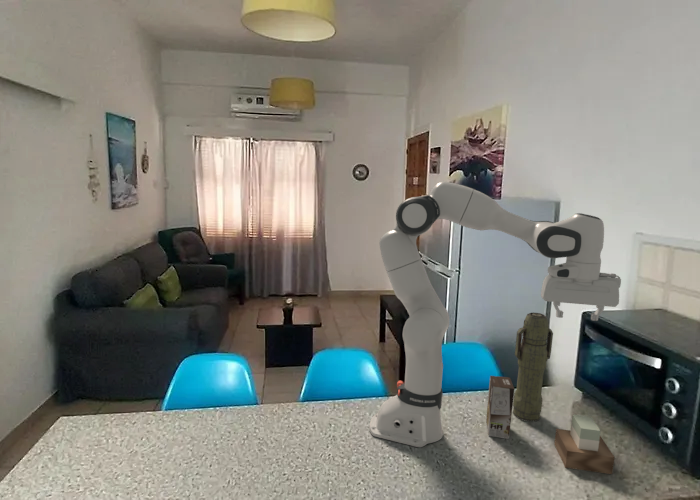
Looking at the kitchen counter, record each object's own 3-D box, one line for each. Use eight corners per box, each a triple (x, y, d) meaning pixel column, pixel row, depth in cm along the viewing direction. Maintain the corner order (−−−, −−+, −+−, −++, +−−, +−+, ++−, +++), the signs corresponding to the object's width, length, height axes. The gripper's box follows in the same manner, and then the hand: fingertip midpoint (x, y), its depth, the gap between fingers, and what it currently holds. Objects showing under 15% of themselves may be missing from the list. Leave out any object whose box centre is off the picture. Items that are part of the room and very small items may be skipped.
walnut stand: (565, 467, 128) (567, 450, 128) (554, 444, 140) (556, 428, 139) (612, 474, 126) (614, 457, 126) (597, 449, 138) (599, 434, 137)
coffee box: (509, 439, 142) (515, 389, 139) (487, 436, 143) (492, 386, 141) (506, 424, 151) (510, 377, 148) (485, 421, 152) (489, 374, 150)
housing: (570, 433, 137) (572, 414, 136) (588, 436, 136) (590, 416, 135) (578, 448, 129) (581, 428, 128) (597, 451, 128) (600, 430, 127)
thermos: (503, 410, 160) (512, 311, 155) (533, 407, 163) (543, 310, 158) (518, 423, 152) (529, 318, 147) (549, 420, 155) (561, 317, 150)
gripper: (617, 272, 134) (611, 319, 136) (542, 266, 137) (537, 312, 139) (626, 276, 128) (619, 325, 129) (547, 270, 131) (542, 318, 133)
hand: (576, 318), depth 134 cm, fingers open, 8 cm apart
